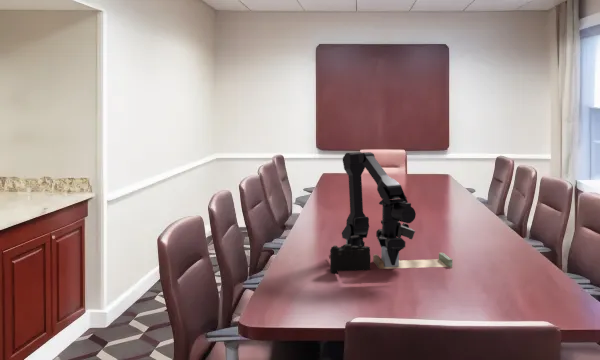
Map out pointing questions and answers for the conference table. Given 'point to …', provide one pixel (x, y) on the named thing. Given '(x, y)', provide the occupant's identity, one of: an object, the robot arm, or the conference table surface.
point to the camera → (349, 258)
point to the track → (417, 262)
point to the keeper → (386, 258)
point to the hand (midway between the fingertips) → (390, 261)
